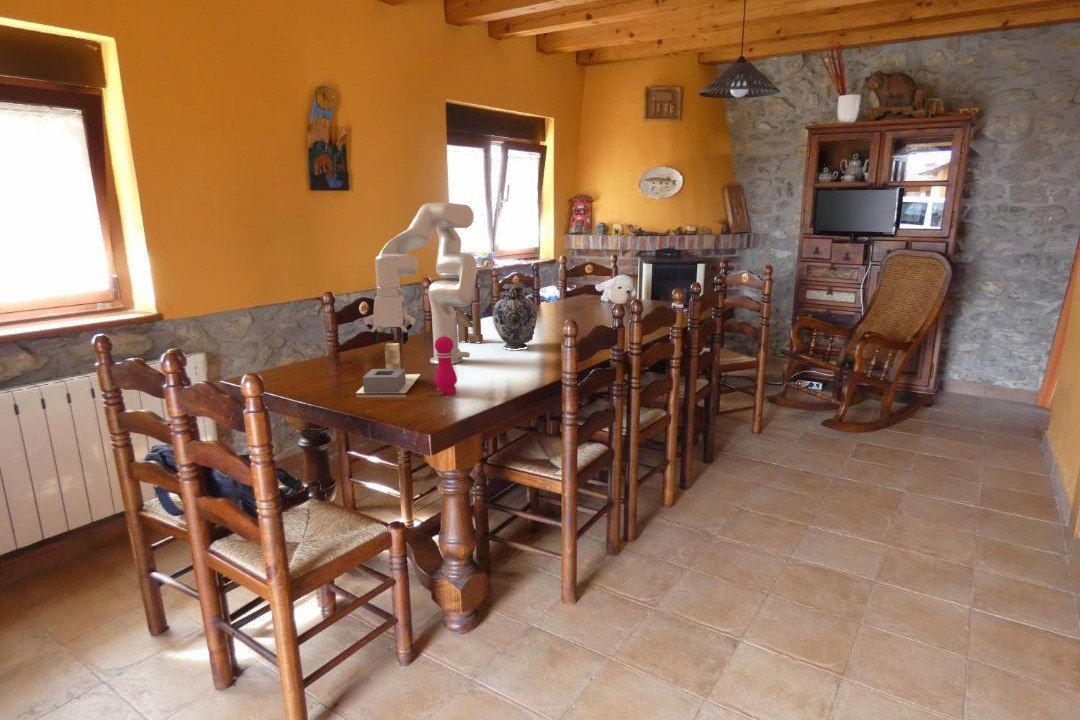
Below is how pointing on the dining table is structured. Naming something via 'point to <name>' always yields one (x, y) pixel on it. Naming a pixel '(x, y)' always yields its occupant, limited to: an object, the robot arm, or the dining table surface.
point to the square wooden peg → (392, 356)
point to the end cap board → (386, 382)
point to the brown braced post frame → (470, 325)
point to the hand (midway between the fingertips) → (390, 343)
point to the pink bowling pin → (445, 366)
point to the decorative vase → (515, 316)
